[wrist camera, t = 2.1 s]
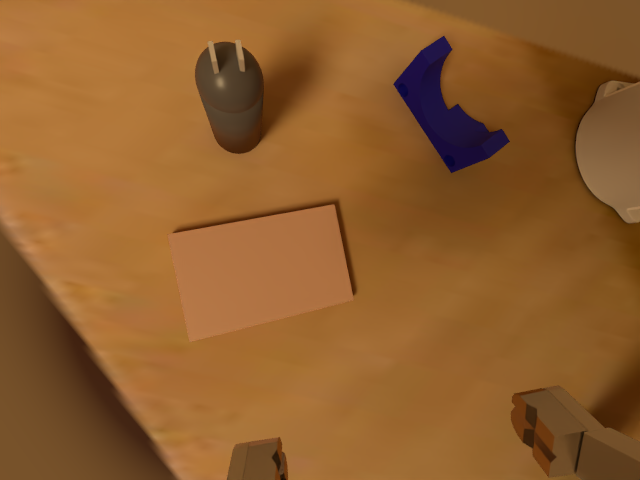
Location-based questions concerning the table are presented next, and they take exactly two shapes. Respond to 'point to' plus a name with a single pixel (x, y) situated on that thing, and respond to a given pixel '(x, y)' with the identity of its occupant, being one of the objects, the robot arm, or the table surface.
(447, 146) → the blue u-shaped bracket
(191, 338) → the board
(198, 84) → the charger plug
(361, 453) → the table surface
